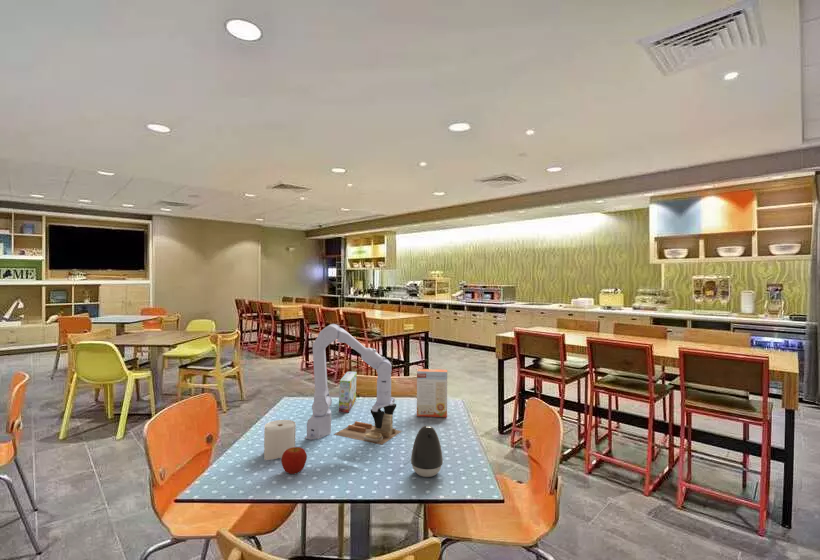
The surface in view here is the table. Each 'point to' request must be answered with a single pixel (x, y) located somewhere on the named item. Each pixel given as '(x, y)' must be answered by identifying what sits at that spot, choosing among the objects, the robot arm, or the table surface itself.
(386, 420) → the birch board
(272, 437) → the toilet tissue
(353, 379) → the snack box
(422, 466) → the dark grey egg shape
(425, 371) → the cracker box
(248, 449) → the table surface
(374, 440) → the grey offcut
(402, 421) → the table surface
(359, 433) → the rack
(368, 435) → the oak offcut
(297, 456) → the apple
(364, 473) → the table surface
